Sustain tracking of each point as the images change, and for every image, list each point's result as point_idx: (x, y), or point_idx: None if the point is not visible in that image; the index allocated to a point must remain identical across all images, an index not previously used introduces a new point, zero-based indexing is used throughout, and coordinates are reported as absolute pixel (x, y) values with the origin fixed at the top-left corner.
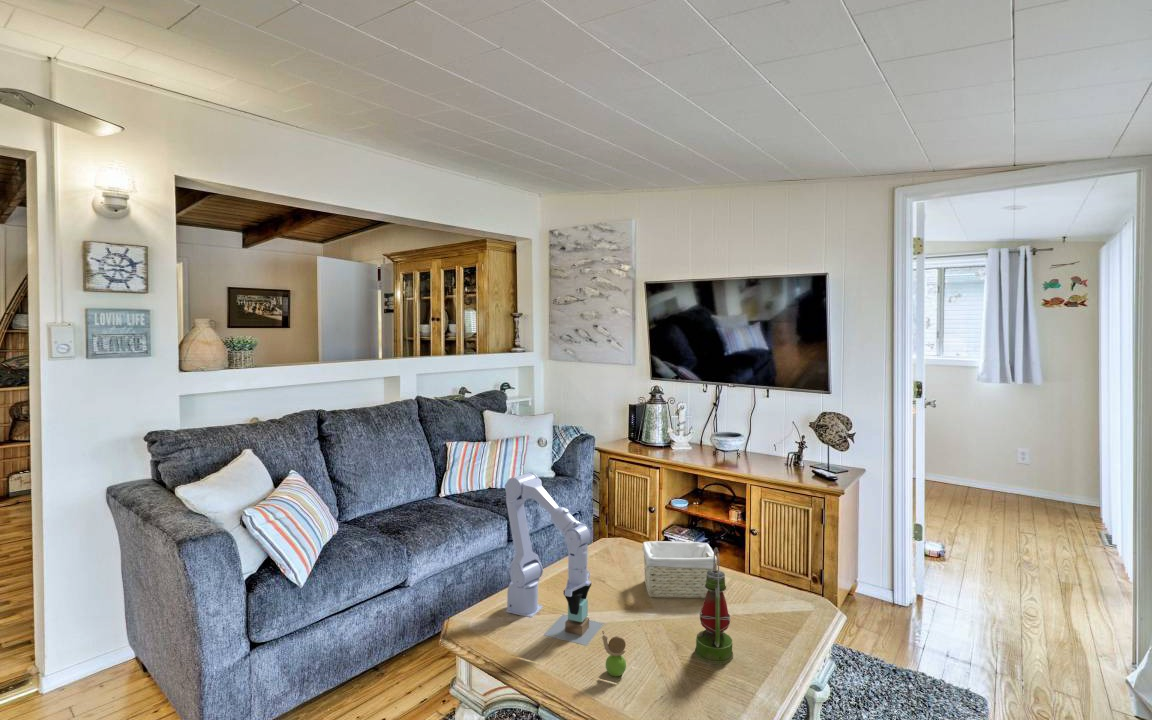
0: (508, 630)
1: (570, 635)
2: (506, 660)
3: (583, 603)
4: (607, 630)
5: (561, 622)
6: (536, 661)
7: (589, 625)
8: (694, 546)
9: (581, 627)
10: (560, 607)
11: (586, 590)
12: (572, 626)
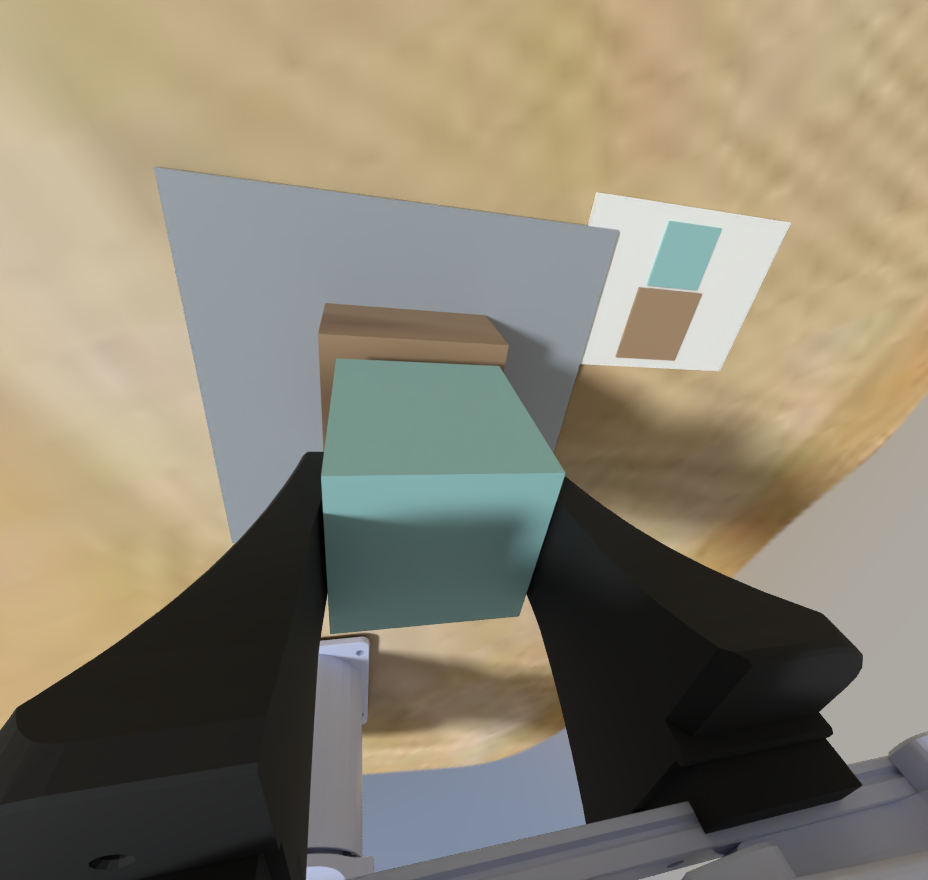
0: (511, 645)
1: None
2: (739, 553)
3: (485, 479)
4: (263, 87)
5: None
6: (760, 455)
7: (290, 311)
8: None
9: (505, 346)
10: (137, 587)
11: (292, 636)
12: None
